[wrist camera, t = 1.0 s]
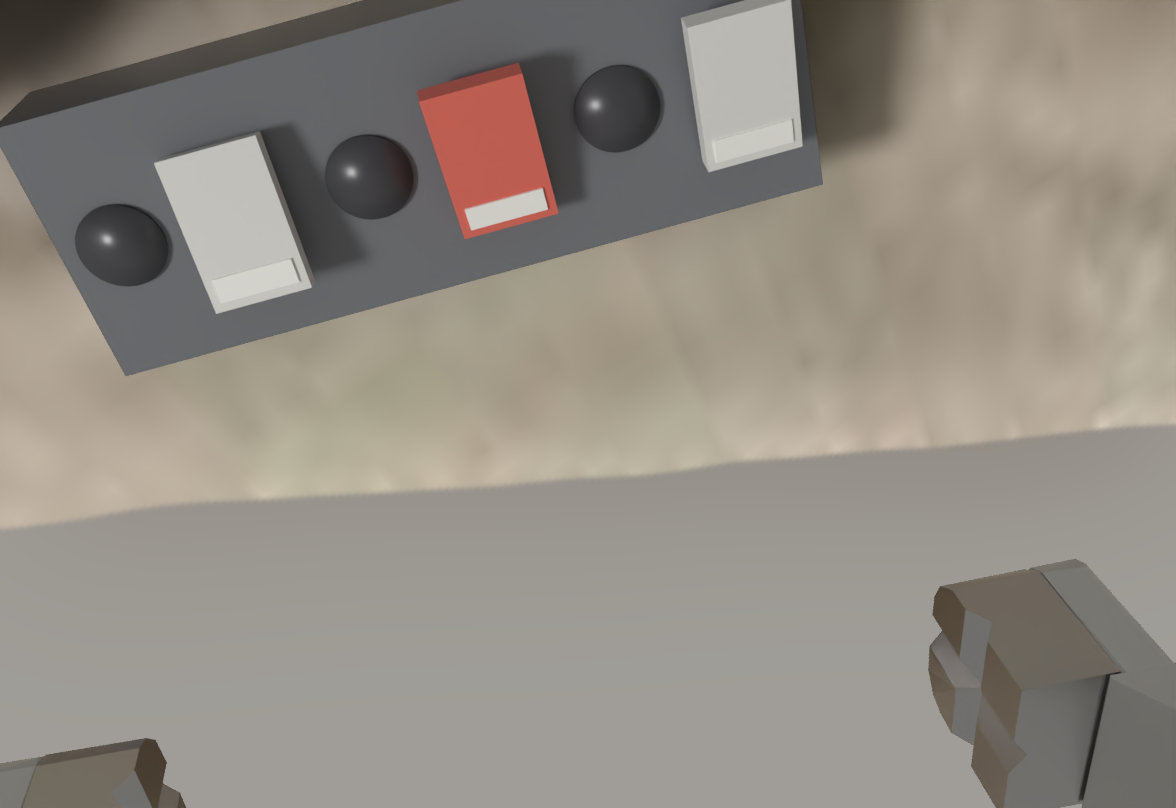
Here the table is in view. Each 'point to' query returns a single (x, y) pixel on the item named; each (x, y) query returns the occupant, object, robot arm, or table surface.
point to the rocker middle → (489, 150)
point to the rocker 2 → (743, 81)
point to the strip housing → (375, 156)
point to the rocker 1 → (236, 222)
